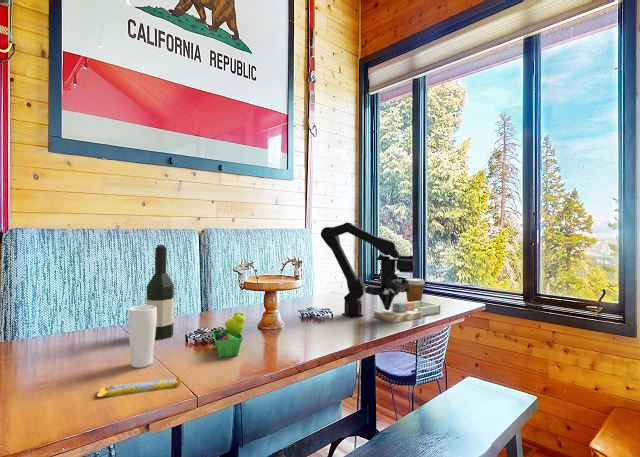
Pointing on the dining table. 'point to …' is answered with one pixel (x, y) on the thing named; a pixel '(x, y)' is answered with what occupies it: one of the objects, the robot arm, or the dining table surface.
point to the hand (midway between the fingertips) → (387, 310)
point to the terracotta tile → (409, 305)
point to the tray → (426, 307)
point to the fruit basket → (230, 336)
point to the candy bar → (138, 387)
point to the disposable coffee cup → (415, 289)
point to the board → (397, 315)
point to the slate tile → (399, 307)
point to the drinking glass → (142, 334)
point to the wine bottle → (161, 295)
